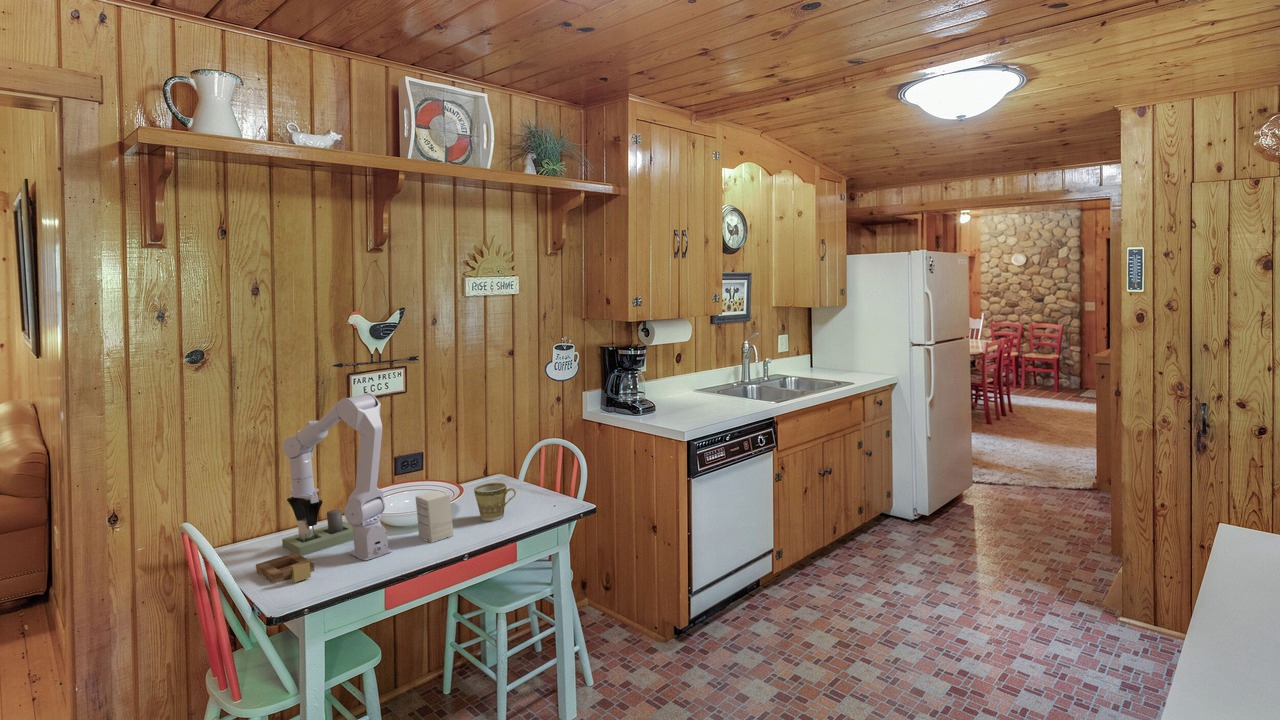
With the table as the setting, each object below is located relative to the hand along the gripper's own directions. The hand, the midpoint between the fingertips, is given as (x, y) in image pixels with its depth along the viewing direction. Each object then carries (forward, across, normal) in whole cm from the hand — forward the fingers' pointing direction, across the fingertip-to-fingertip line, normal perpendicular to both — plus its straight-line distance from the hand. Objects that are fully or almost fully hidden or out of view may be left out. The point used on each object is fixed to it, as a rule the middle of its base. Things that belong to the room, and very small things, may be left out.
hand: (306, 523), depth 202 cm
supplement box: (+7, -25, -26) cm, 37 cm away
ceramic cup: (+7, -26, -47) cm, 54 cm away
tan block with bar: (+6, -21, +12) cm, 25 cm away
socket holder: (+7, -14, +12) cm, 20 cm away
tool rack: (+7, 0, -4) cm, 8 cm away
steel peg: (+7, 0, 0) cm, 7 cm away
